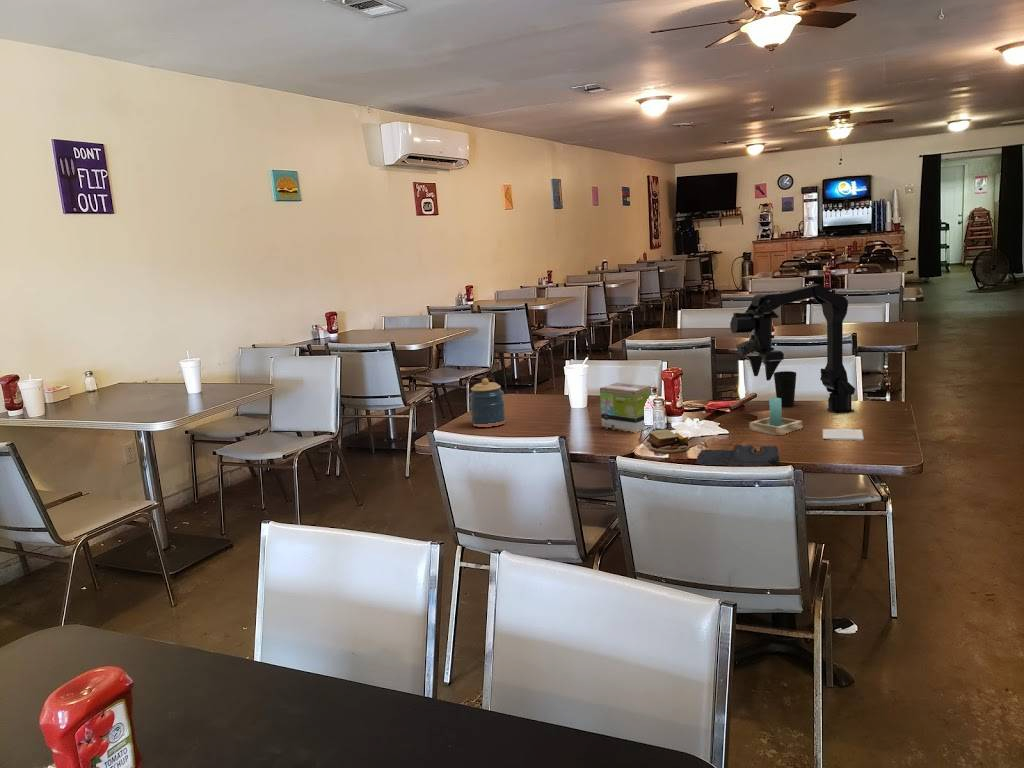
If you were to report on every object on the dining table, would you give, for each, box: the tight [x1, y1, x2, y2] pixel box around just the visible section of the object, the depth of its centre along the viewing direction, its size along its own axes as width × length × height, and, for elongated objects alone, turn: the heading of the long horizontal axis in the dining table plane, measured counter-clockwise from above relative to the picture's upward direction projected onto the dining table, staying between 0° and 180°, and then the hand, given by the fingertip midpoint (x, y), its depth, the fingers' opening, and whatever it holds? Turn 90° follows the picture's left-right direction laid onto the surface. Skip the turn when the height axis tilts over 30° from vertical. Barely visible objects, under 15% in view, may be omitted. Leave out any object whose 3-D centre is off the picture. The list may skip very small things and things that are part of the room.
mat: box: [822, 428, 865, 442], centre depth 227 cm, size 11×11×1 cm
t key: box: [767, 397, 783, 427], centre depth 240 cm, size 4×7×10 cm, turn 33°
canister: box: [468, 377, 507, 424], centre depth 279 cm, size 13×13×18 cm
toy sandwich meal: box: [646, 429, 692, 454], centre depth 229 cm, size 12×14×5 cm
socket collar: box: [749, 416, 804, 436], centre depth 240 cm, size 11×11×2 cm
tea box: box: [599, 382, 652, 431], centre depth 257 cm, size 15×10×15 cm, turn 45°
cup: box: [773, 370, 797, 408], centre depth 271 cm, size 8×8×12 cm
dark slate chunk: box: [695, 444, 780, 466], centre depth 208 cm, size 15×22×5 cm
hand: (761, 378), depth 252 cm, fingers open, 9 cm apart
